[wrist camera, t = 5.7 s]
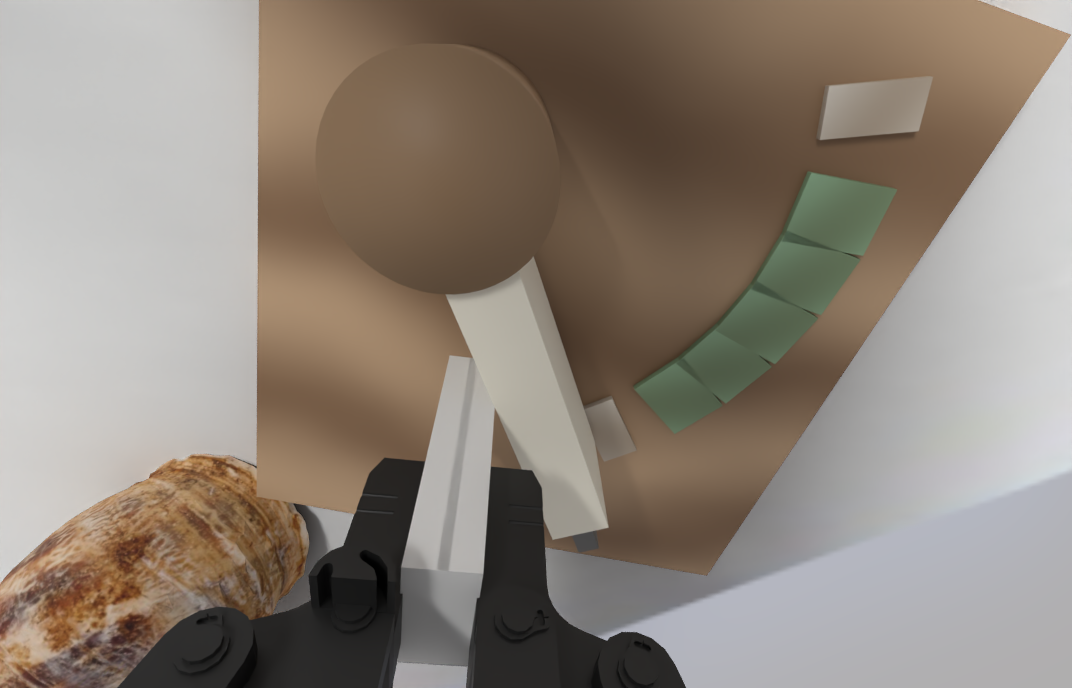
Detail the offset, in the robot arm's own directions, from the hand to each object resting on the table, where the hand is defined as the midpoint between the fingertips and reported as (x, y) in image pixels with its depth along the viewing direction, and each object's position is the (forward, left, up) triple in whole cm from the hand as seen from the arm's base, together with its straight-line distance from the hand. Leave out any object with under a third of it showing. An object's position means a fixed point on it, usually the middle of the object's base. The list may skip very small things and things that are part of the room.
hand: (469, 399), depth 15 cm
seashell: (+13, -10, -3) cm, 17 cm away
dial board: (-2, +2, -3) cm, 5 cm away
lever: (-3, +1, -2) cm, 3 cm away
